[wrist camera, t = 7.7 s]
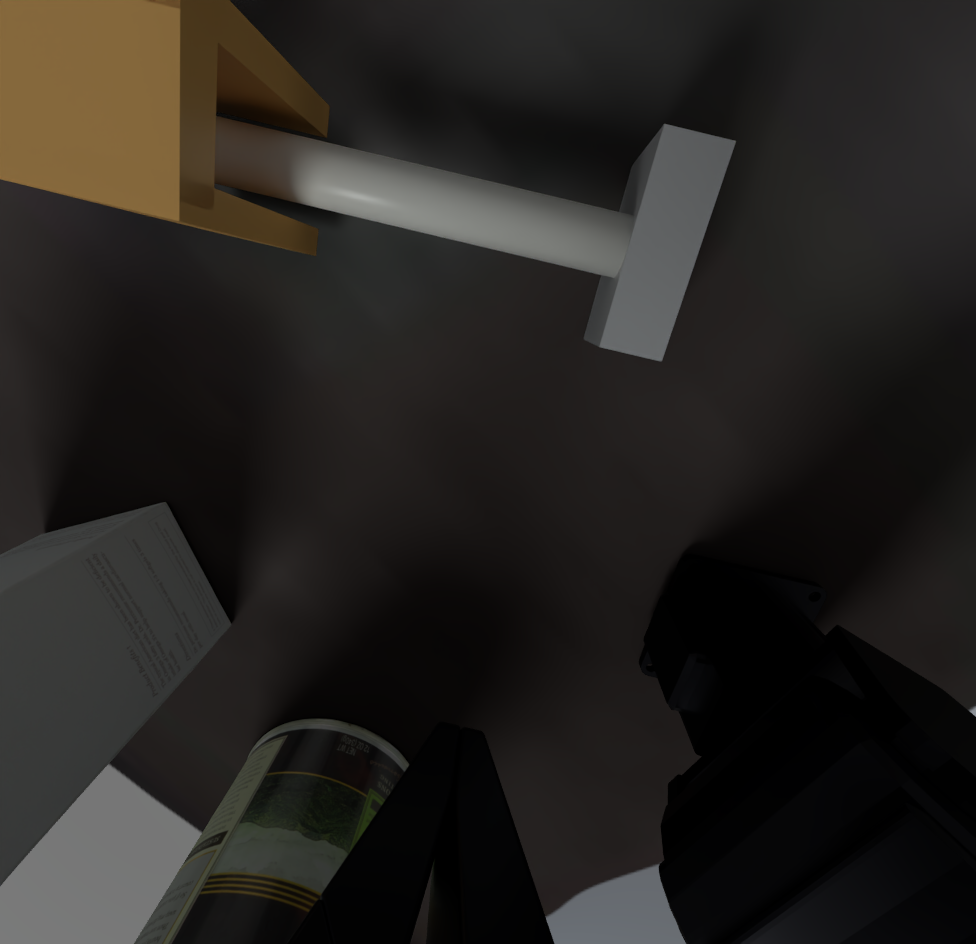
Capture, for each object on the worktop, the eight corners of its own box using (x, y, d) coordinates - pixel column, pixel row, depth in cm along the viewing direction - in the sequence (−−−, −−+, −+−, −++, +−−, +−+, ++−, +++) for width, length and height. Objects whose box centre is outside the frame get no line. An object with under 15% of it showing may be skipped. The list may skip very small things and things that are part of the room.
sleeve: (329, 106, 16) (180, -52, 9) (315, 256, 17) (179, 221, 10) (210, 77, 16) (-34, -104, 9) (207, 230, 17) (-3, 178, 10)
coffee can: (379, 697, 25) (220, 1133, 12) (446, 832, 28) (380, 1302, 15) (212, 736, 27) (-90, 1155, 14) (292, 859, 30) (109, 1303, 17)
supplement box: (38, 531, 23) (-470, 766, 11) (171, 497, 22) (-236, 718, 10) (113, 653, 25) (-246, 959, 14) (237, 628, 24) (-34, 936, 12)
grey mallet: (687, 178, 17) (772, 112, 11) (633, 350, 19) (682, 369, 13) (68, 30, 16) (-168, -116, 11) (80, 220, 18) (-116, 181, 13)
